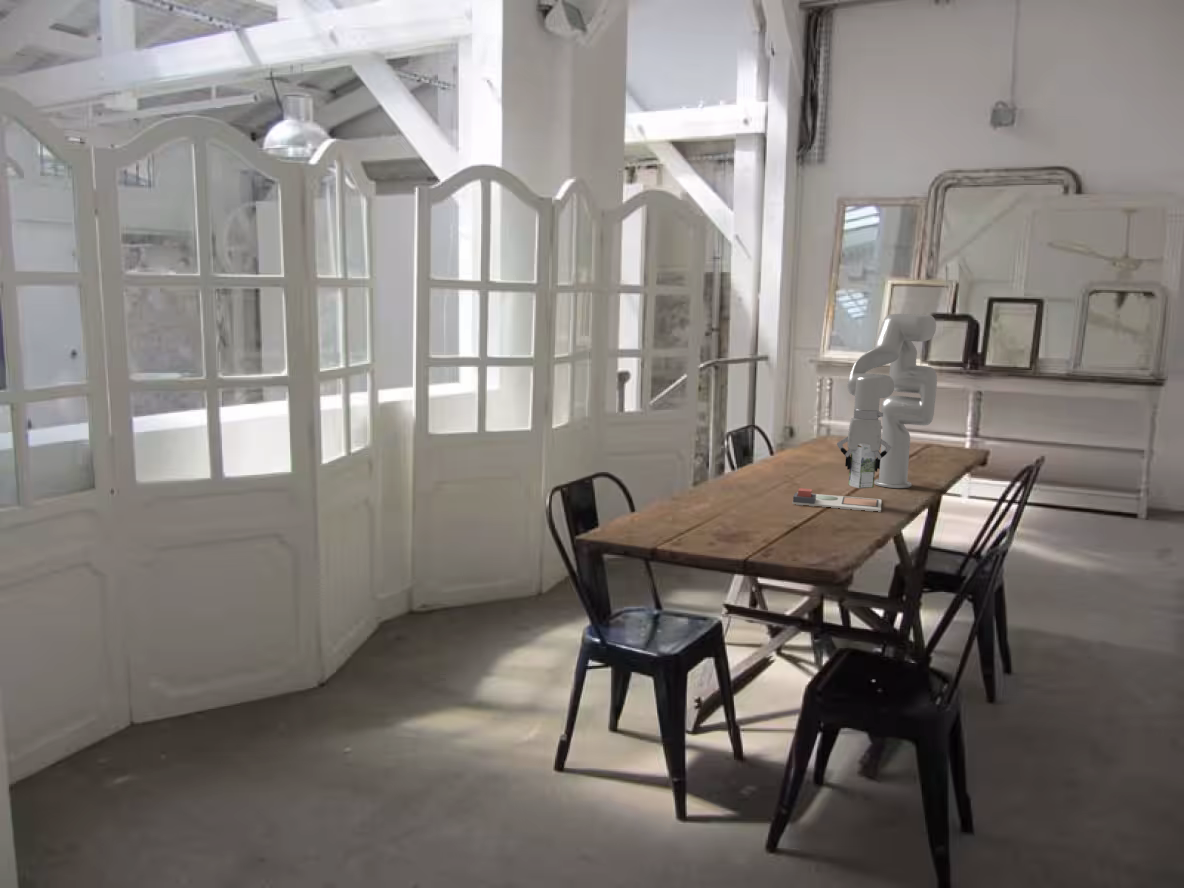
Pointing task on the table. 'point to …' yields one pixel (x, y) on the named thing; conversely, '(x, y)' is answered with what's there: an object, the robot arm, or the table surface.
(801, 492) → the button
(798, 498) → the picture board
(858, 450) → the syrup box
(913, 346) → the robot arm
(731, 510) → the table surface
